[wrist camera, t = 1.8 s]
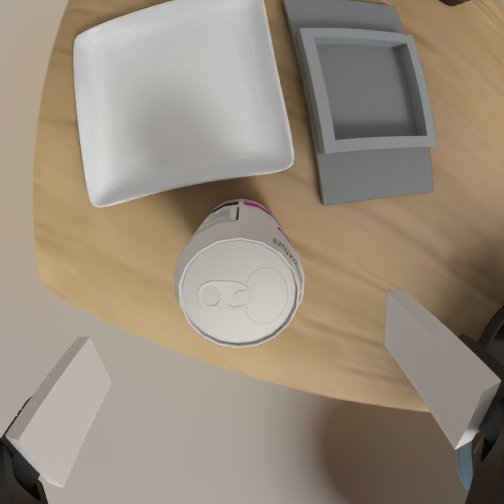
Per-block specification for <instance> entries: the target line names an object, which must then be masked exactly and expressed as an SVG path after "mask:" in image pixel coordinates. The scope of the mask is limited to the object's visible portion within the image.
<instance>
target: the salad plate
mask: <svg viewBox="0 0 504 504" xmlns="http://www.w3.org/2000/svg"><path fill="white" fill-rule="evenodd" d="M73 69H74V87H75V99H76V110H77V120H78V129H79V138H80V145H81V154H82V161H83V168H84V174H85V180H86V186H87V191H88V195H89V199H90V201H91V204H92V205H93V206H95V207H98V208H101V207H108V206H112V205H116V204H120V203H123V202H126V201H130V200H134V199H137V198H141V197H145V196H148V195H152V194H156V193H160V192H165V191H169V190H173V189H177V188H182V187H186V186H191V185H197V184H202V183H207V182H213V181H220V180H226V179H233V178H241V177H248V176H256V175H265V174H270V173H276V172H280V171H283V170H286V169H288V168H290V167H291V166H292V165H293V163H294V147H293V141H292V135H291V130H290V125H289V120H288V116H287V111H286V107H285V102H284V97H283V93H282V88H281V84H280V79H279V75H278V70H277V65H276V60H275V55H274V50H273V44H272V39H271V34H270V29H269V24H268V18H267V13H266V8H265V3H264V0H172V1H168V2H165V3H161V4H158V5H154V6H151V7H148V8H145V9H141V10H138V11H135V12H132V13H129V14H126V15H123V16H120V17H118V18H115V19H112V20H109V21H107V22H104V23H102V24H99V25H97V26H95V27H93V28H90V29H88V30H86V31H84V32H82V33H81V34H79V35H78V36H77V37H76V38H75V41H74V50H73Z"/></svg>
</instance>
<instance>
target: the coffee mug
mask: <svg viewBox="0 0 504 504" xmlns="http://www.w3.org/2000/svg"><path fill="white" fill-rule="evenodd" d="M439 1H441V2H442V3H444V4H446V5H449V6H456V5H458V4H461V3H464V2H467V1H470V0H439Z"/></svg>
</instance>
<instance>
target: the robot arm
mask: <svg viewBox="0 0 504 504" xmlns="http://www.w3.org/2000/svg"><path fill="white" fill-rule="evenodd" d="M384 345H385V347H386V348H387V350H388V351H389V352H390V354H391V355H392V356H393V358H394V359H395V361H396V362H397V364H398V365H399V366H400V368H401V369H402V371H403V372H404V373H405V375H406V376H407V378H408V379H409V381H410V382H411V384H412V385H413V386H414V388H415V389H416V391H417V392H418V394H419V395H420V397H421V398H422V400H423V401H424V403H425V404H426V406H427V407H428V409H429V410H430V412H431V413H432V415H433V416H434V418H435V419H436V421H437V422H438V424H439V425H440V427H441V428H442V430H443V432H444V433H445V435H446V436H447V438H448V440H449V441H450V443H451V444H452V446H453V447H454V449H457V448H459V447H460V448H459V450H458V452H457V457H456V464H457V469H458V473H459V476H460V478H461V481H462V483H463V485H464V487H465V488H466V489H467V490H468V496H467V499H466V502H465V504H504V307H503V308H502V309H501V310H500V311H499V312H498V313H497V314H496V315H495V317H494V318H493V319H492V321H491V322H490V324H489V325H488V327H487V328H486V330H485V332H484V334H483V336H482V338H481V340H480V342H479V343H478V342H477V341H476V340H474V339H472V338H470V337H468V336H466V335H460V336H458V337H457V336H456V335H454V334H453V333H452V332H451V331H450V330H449V329H448V328H447V327H446V326H445V325H444V324H443V323H441V322H440V321H439V320H438V319H437V318H436V317H435V316H434V315H433V314H431V313H430V312H429V311H428V310H427V309H426V308H425V307H423V306H422V305H421V304H420V303H419V302H418V301H417V300H415V299H414V298H413V297H412V296H411V295H410V294H409V293H407V292H406V291H405V290H404V289H403V288H401V289H397V290H393V291H388V292H387V306H386V326H385V341H384ZM111 384H112V381H111V380H110V378H109V376H108V374H107V372H106V370H105V368H104V366H103V364H102V361H101V359H100V357H99V355H98V353H97V351H96V349H95V346H94V344H93V342H92V340H91V337H78V338H77V339H76V340H75V341H74V343H73V344H72V345H71V346H70V348H69V349H68V350H67V351H66V353H65V354H64V355H63V356H62V358H61V359H60V360H59V361H58V363H57V364H56V365H55V367H54V368H53V369H52V371H51V372H50V373H49V374H48V376H47V377H46V378H45V380H44V381H43V382H42V384H41V385H40V386H39V388H38V389H37V390H36V392H35V393H34V394H33V396H32V397H30V398H29V399H28V400H27V401H26V403H25V404H24V405H23V407H22V410H20V411H19V412H18V414H17V415H18V416H16V417H15V418H14V420H13V421H12V423H11V424H10V426H9V427H8V428H7V430H6V431H5V433H4V435H3V436H2V437H1V439H0V504H48V501H47V498H46V495H45V491H44V488H43V485H42V483H41V482H40V481H39V480H38V478H39V476H40V475H41V476H42V477H43V478H44V479H45V480H46V481H47V482H49V483H50V484H53V485H56V486H59V487H62V488H64V485H65V483H66V481H67V478H68V476H69V473H70V471H71V469H72V466H73V464H74V462H75V460H76V457H77V455H78V453H79V451H80V449H81V446H82V444H83V442H84V440H85V438H86V436H87V433H88V431H89V429H90V427H91V425H92V423H93V421H94V418H95V416H96V414H97V412H98V410H99V408H100V406H101V404H102V402H103V400H104V398H105V396H106V394H107V392H108V390H109V388H110V386H111Z"/></svg>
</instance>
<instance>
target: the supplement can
mask: <svg viewBox="0 0 504 504" xmlns="http://www.w3.org/2000/svg"><path fill="white" fill-rule="evenodd" d="M304 284H305V276H304V272H303V268H302V265H301V261H300V257H299V256H298V254H297V252H296V251H295V249H294V247H293V246H292V244H291V243H290V241H289V239H288V238H287V236H286V234H285V233H284V231H283V230H282V228H281V226H280V225H279V223H278V222H277V220H276V219H275V217H274V216H273V215H272V214H271V212H270V211H269V210H268V209H267V208H266V207H264V206H263V205H261V204H259V203H258V202H256V201H253V200H248V199H243V198H240V199H233V200H227V201H225V202H223V203H222V204H220V205H218V206H216V207H215V208H214V209H213V210H212V211H211V212H210V213H209V215H208V216H207V217H206V218H205V219H204V221H203V222H202V224H201V225H200V227H199V228H198V229H197V231H196V232H195V234H194V235H193V236H192V238H191V239H190V241H189V242H188V244H187V245H186V247H185V248H184V249H183V251H182V252H181V254H180V257H179V260H178V263H177V266H176V269H175V272H174V286H175V296H176V298H177V301H178V303H179V305H180V307H181V310H182V312H183V314H184V315H185V317H186V319H187V321H188V323H189V324H190V325H191V326H192V327H193V328H194V329H195V330H196V331H197V332H198V333H199V334H200V335H201V336H203V337H205V338H207V339H209V340H210V341H212V342H214V343H216V344H218V345H224V346H229V347H235V348H242V347H250V346H257V345H260V344H262V343H264V342H266V341H269V340H271V339H273V338H275V337H276V336H277V335H278V334H279V333H280V332H282V331H283V330H284V329H285V328H286V327H287V326H288V325H289V323H290V322H291V320H292V318H293V317H294V315H295V313H296V311H297V309H298V307H299V305H300V303H301V301H302V299H303V293H304Z"/></svg>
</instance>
